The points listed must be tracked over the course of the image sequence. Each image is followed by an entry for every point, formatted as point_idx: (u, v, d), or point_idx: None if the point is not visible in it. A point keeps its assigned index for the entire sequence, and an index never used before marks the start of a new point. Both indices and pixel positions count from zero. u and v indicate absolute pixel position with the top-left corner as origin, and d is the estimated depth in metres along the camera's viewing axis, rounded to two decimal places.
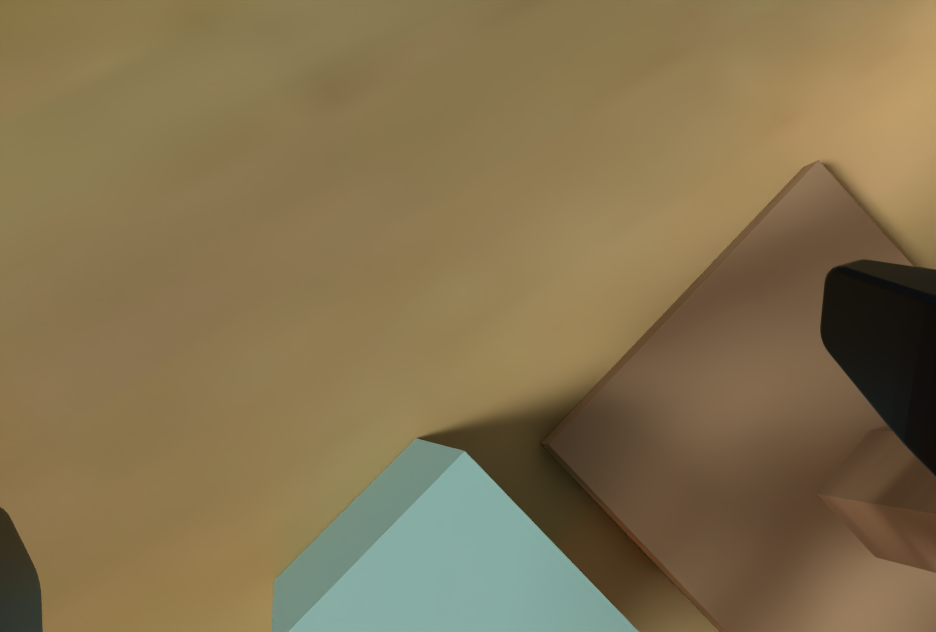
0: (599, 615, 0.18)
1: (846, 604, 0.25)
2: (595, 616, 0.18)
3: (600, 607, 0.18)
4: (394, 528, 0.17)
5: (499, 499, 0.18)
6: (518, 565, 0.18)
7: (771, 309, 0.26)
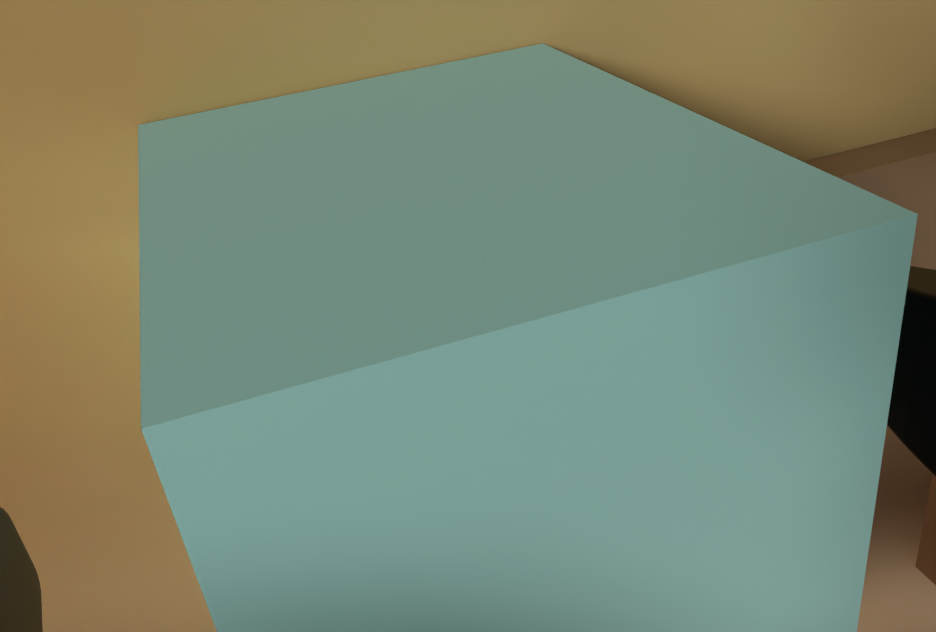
0: None
1: None
2: None
3: None
4: (649, 298, 0.06)
5: (874, 364, 0.07)
6: (792, 512, 0.07)
7: None
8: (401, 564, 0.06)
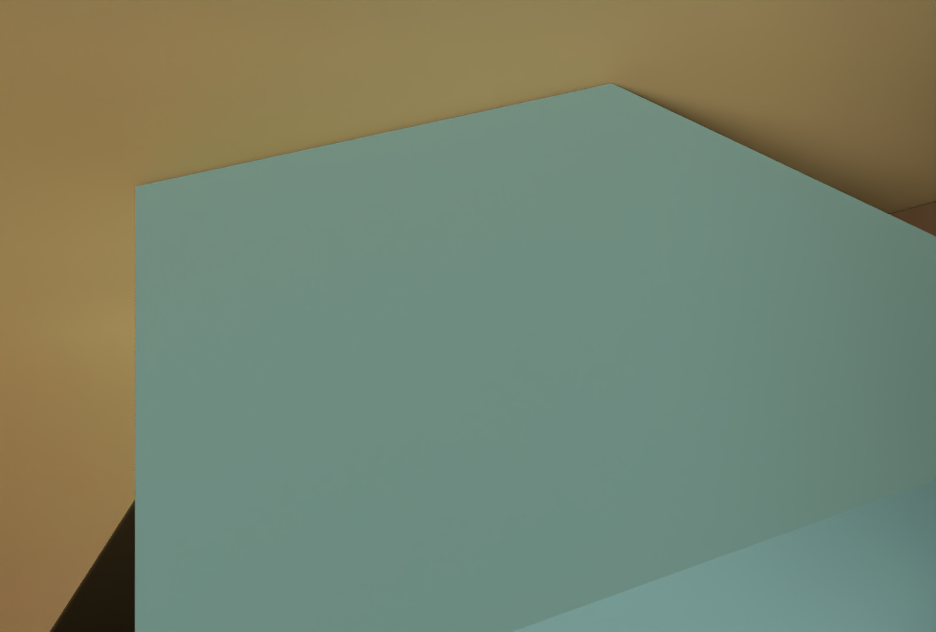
0: None
1: None
2: None
3: None
4: (874, 515, 0.04)
5: None
6: None
7: None
8: None
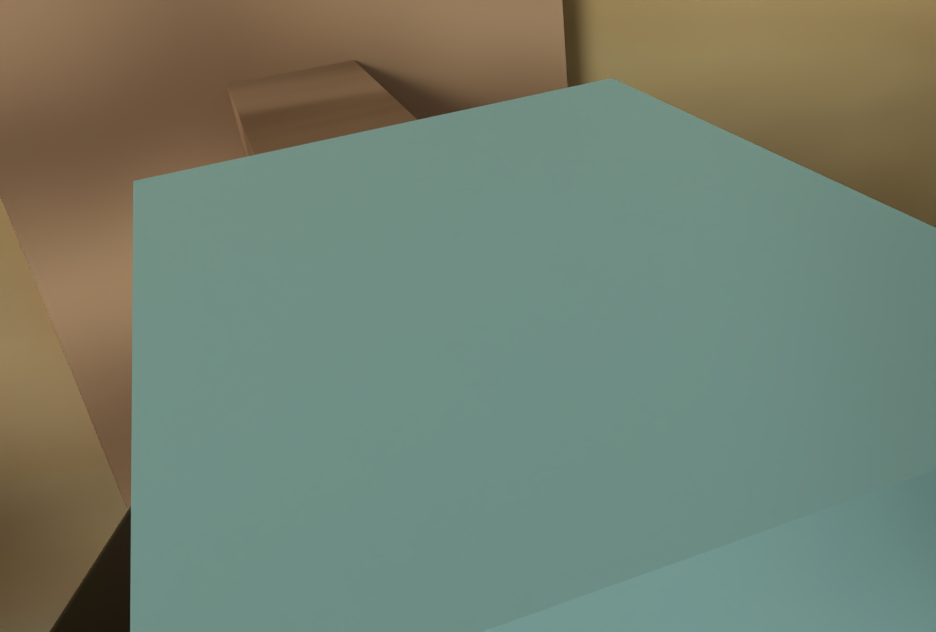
0: None
1: None
2: None
3: None
4: (875, 503, 0.04)
5: None
6: None
7: None
8: None
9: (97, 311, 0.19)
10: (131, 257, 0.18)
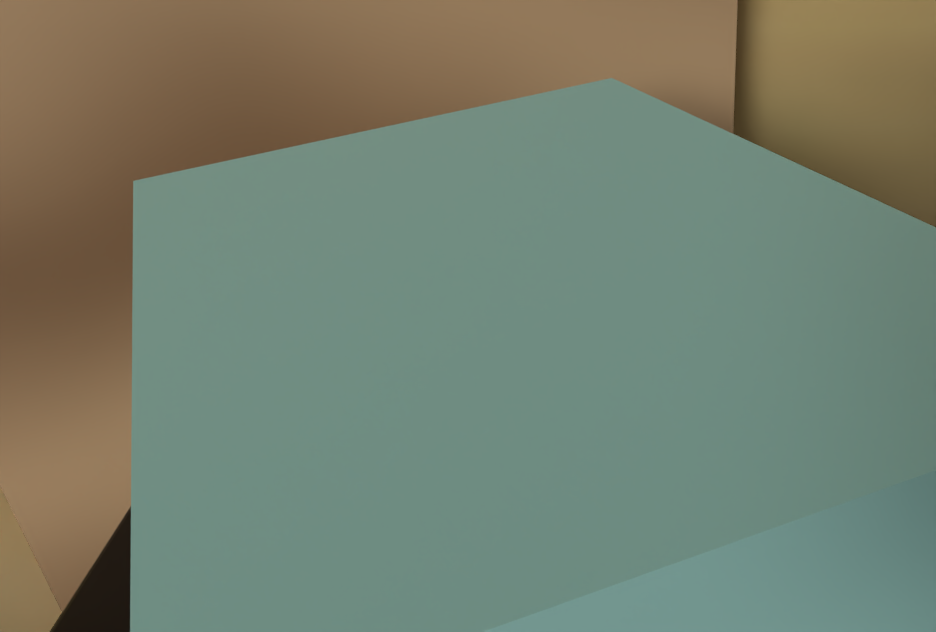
0: None
1: None
2: None
3: None
4: (875, 503, 0.04)
5: None
6: None
7: None
8: None
9: (80, 499, 0.13)
10: (128, 424, 0.13)
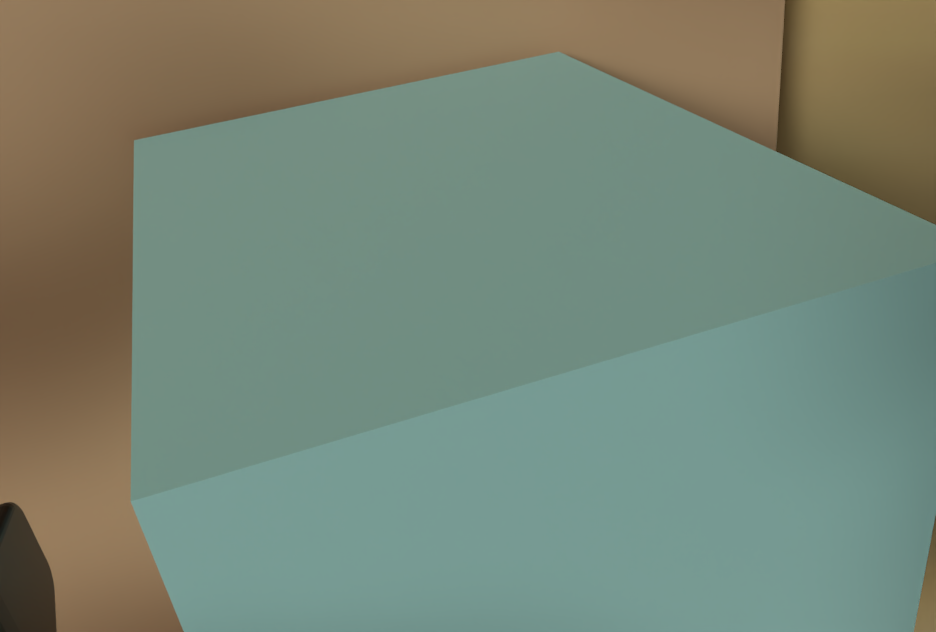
0: None
1: None
2: None
3: None
4: (695, 345, 0.05)
5: (932, 408, 0.06)
6: (840, 566, 0.07)
7: None
8: None
9: (74, 552, 0.12)
10: (125, 473, 0.12)
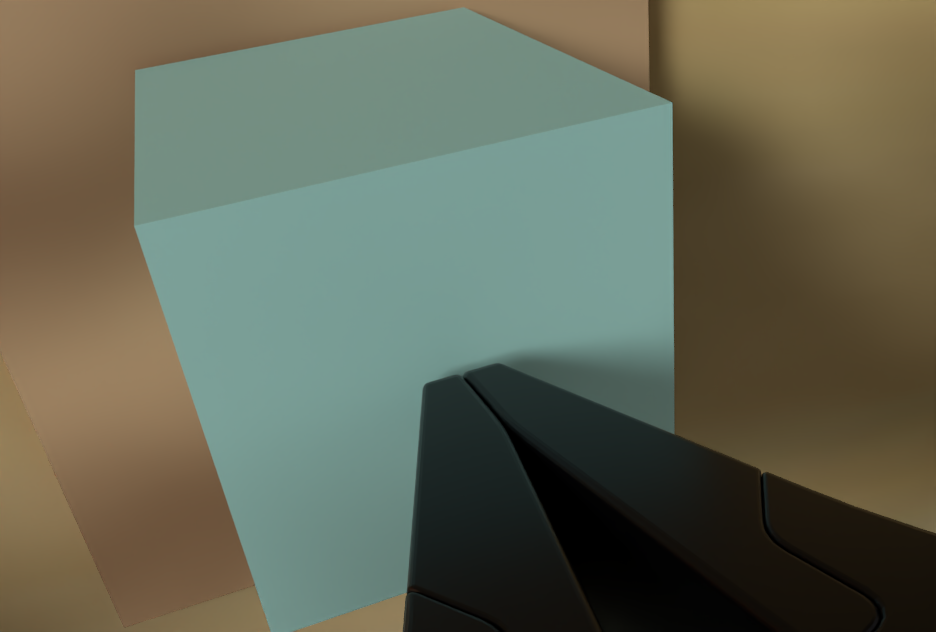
0: None
1: None
2: None
3: None
4: (479, 154, 0.08)
5: (657, 216, 0.09)
6: (607, 330, 0.10)
7: None
8: (315, 343, 0.09)
9: (88, 407, 0.15)
10: (127, 342, 0.15)
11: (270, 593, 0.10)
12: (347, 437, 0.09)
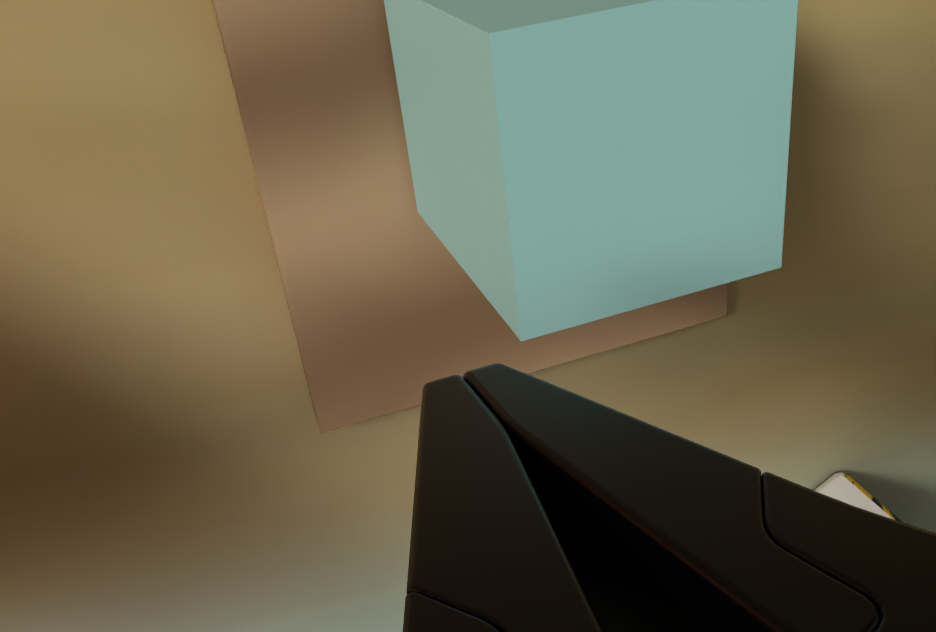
0: (767, 229, 0.16)
1: (396, 171, 0.20)
2: (764, 227, 0.16)
3: (773, 222, 0.16)
4: None
5: (784, 50, 0.14)
6: (748, 130, 0.15)
7: None
8: (575, 122, 0.14)
9: (316, 244, 0.20)
10: (349, 193, 0.20)
11: (524, 305, 0.15)
12: (584, 192, 0.14)
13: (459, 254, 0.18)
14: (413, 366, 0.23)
